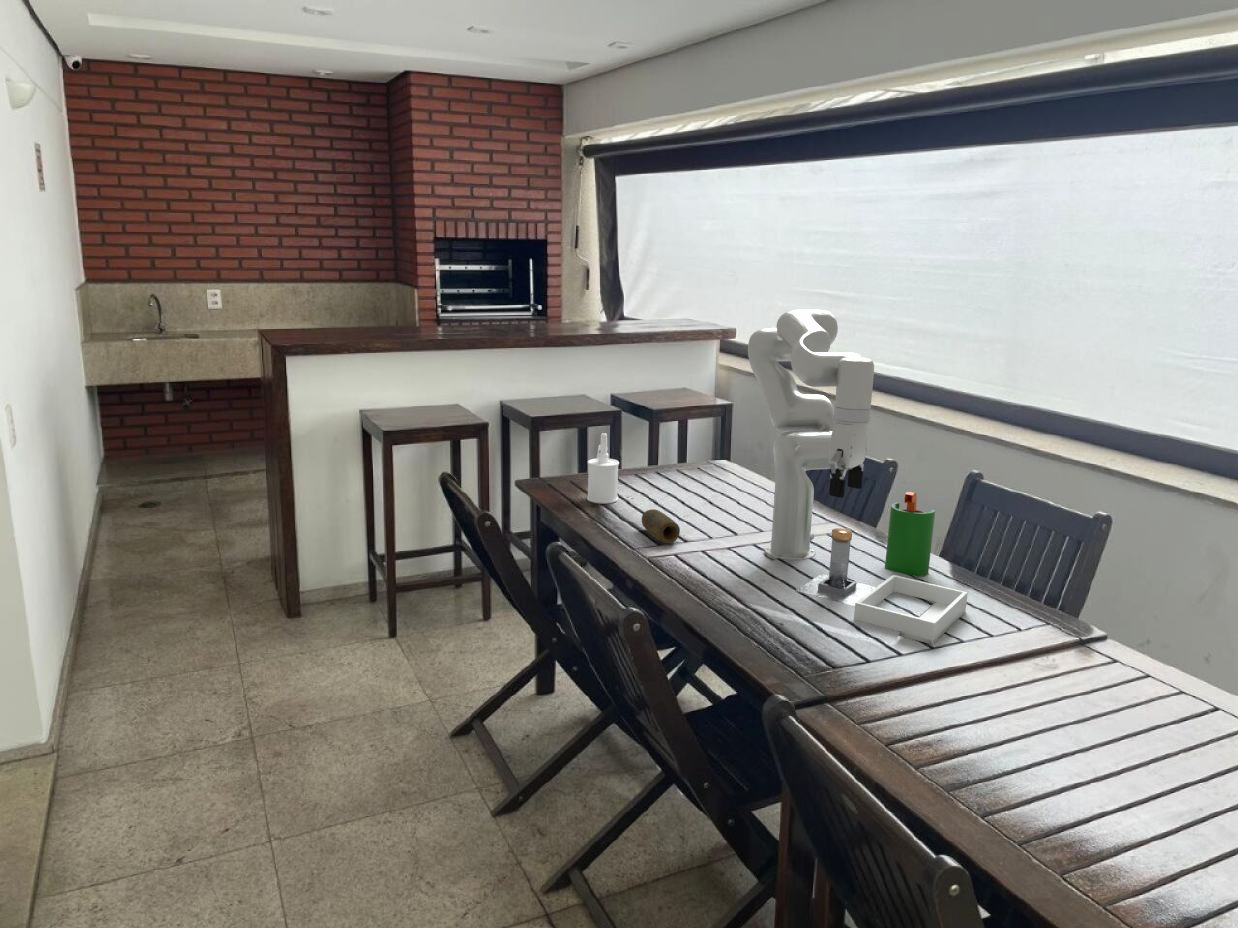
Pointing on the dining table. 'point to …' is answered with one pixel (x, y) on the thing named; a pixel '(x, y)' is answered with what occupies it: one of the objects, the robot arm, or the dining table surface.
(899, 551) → the motor
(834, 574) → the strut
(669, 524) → the stone weight
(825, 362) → the robot arm
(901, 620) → the bin
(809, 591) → the socket plate
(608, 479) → the white spout bottle
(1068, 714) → the dining table surface
